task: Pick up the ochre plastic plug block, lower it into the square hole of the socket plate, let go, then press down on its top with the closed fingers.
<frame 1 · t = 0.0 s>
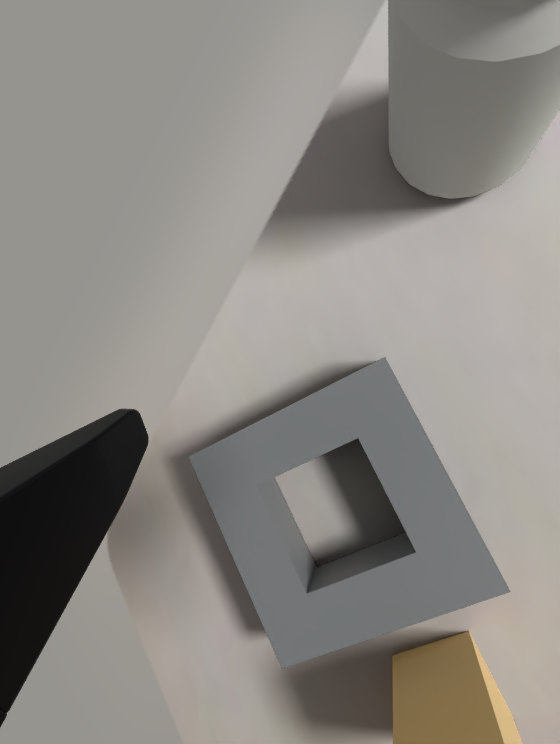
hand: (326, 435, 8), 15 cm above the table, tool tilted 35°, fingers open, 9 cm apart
can: (458, 139, 22), on the table
plug: (449, 683, 21), on the table
socket: (339, 499, 23), on the table
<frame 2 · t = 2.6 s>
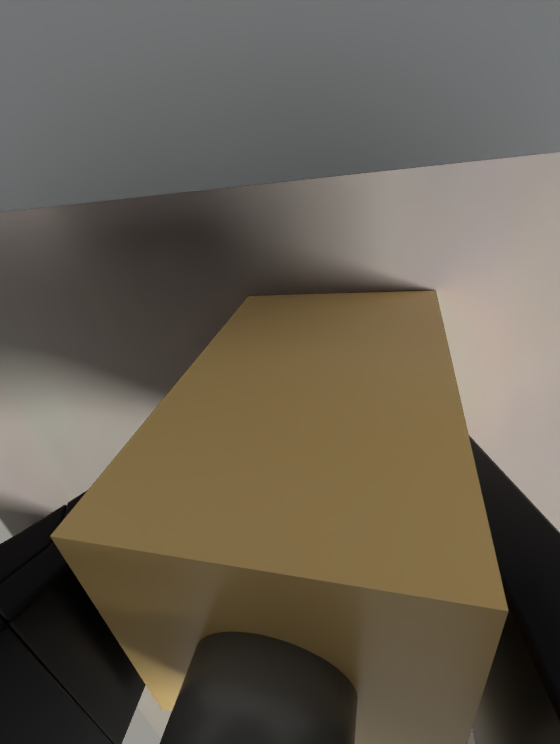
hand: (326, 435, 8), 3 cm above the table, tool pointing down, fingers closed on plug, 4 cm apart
plug: (340, 372, 11), on the table, touching gripper
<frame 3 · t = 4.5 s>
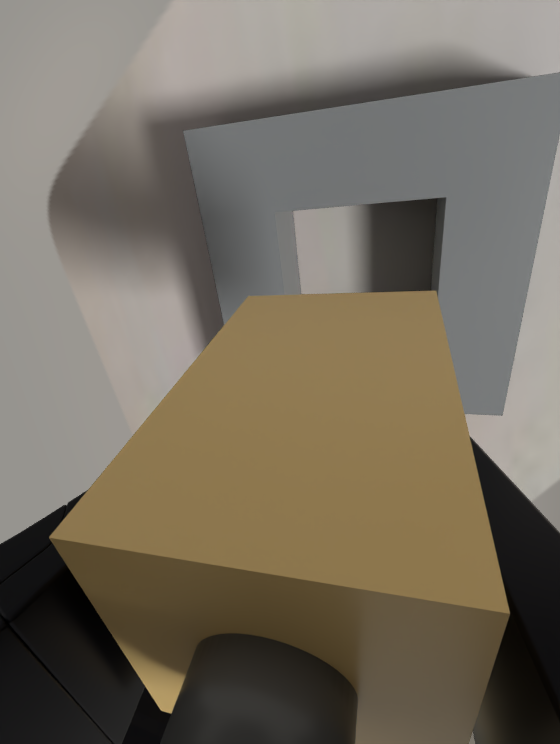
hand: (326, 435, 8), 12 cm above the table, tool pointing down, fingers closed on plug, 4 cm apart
plug: (340, 373, 11), point 9 cm above the table, touching gripper
socket: (362, 263, 18), on the table
when the fingers open (4 cm above the table, at t = 6.6 s): plug drops 2 cm, resting in socket.
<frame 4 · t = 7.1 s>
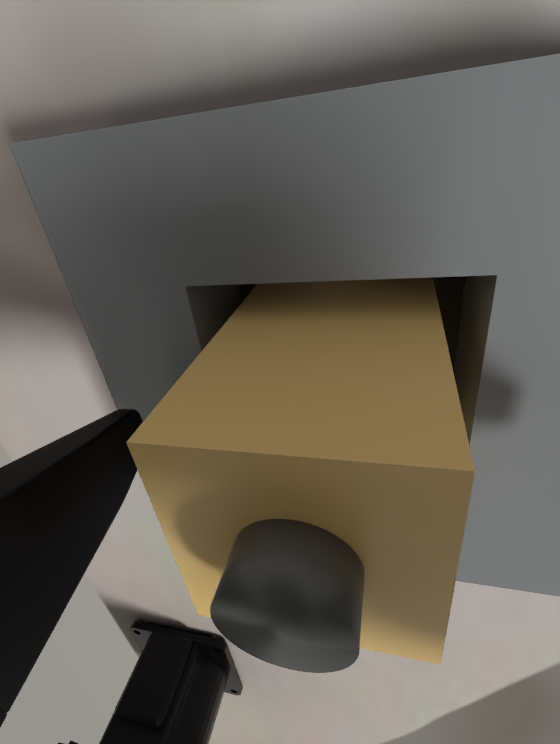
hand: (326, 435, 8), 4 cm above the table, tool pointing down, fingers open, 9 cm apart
plug: (345, 345, 12), resting in socket
socket: (346, 345, 12), on the table
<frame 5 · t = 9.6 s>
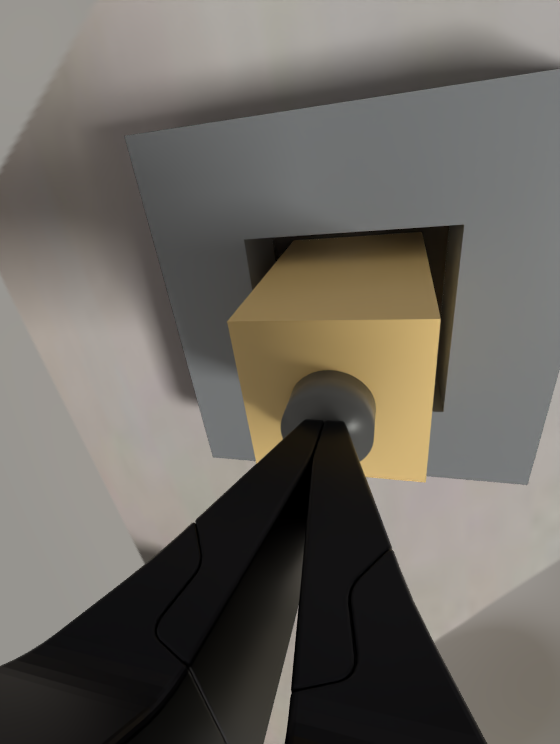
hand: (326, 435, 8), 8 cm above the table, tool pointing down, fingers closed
plug: (356, 296, 15), resting in socket
socket: (357, 295, 15), on the table
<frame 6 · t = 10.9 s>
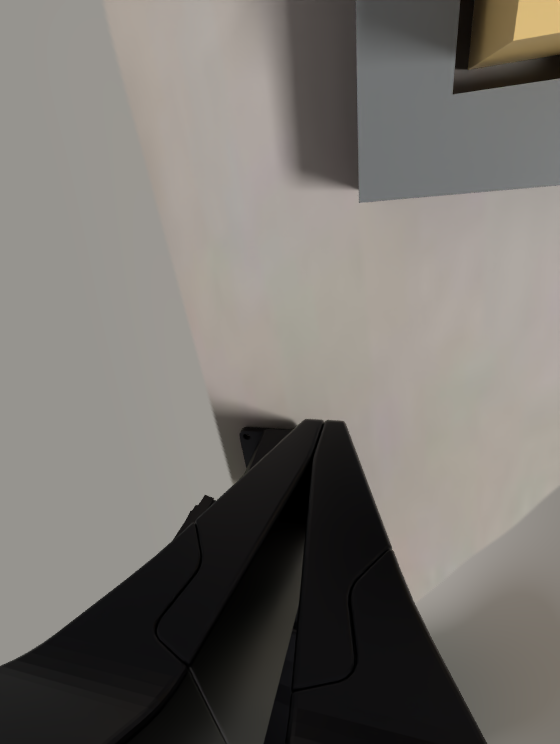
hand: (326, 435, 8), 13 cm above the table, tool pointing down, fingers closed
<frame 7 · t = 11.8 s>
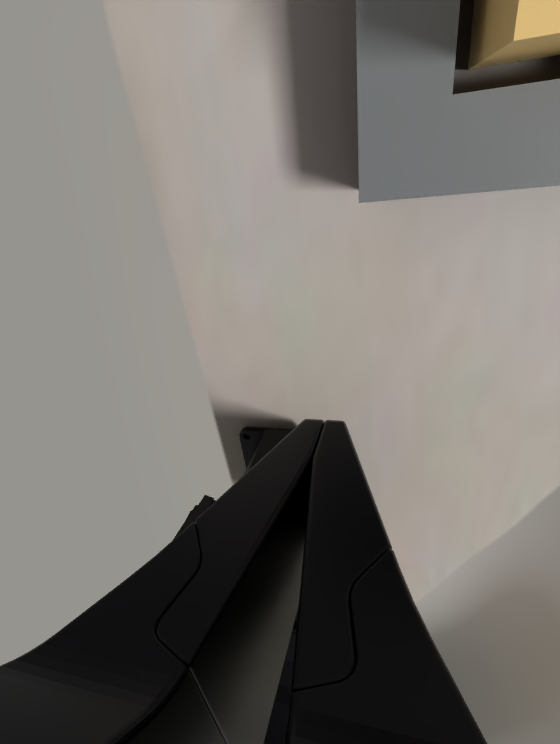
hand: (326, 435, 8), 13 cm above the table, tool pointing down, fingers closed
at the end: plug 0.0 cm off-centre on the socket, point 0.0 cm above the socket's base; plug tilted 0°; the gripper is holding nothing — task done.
